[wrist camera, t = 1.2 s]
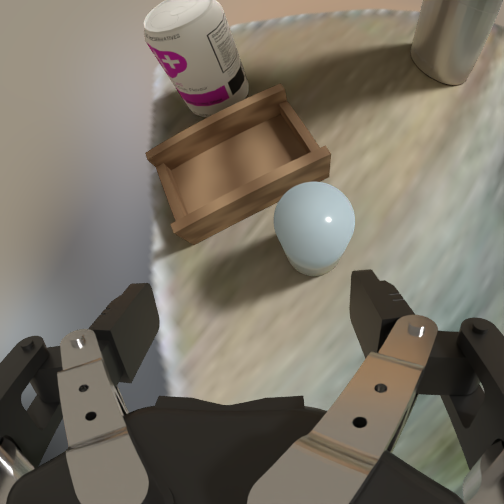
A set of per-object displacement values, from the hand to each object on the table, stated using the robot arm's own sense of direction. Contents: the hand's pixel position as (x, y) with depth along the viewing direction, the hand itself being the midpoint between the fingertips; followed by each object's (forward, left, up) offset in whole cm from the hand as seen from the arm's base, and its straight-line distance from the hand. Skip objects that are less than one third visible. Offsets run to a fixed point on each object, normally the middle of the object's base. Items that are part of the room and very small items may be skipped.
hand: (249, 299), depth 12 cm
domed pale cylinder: (-5, -4, -19) cm, 20 cm away
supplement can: (-4, -27, -19) cm, 33 cm away
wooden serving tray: (-2, -15, -19) cm, 24 cm away
